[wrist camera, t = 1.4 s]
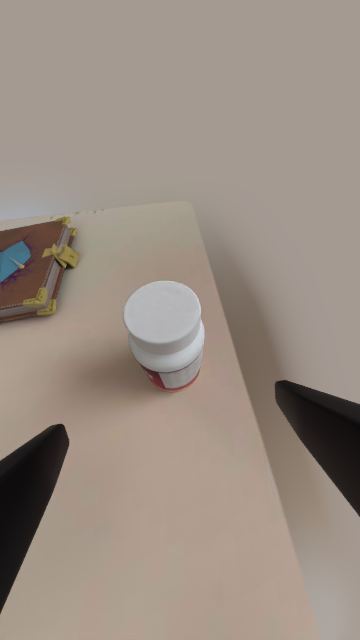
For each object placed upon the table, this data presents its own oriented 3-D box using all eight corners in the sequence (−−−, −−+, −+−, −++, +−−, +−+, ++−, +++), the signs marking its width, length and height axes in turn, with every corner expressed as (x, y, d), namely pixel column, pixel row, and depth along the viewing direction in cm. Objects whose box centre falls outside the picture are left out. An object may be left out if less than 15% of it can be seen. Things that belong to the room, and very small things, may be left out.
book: (-59, 365, 24) (-115, 350, 20) (8, 248, 37) (-16, 224, 33) (65, 342, 24) (35, 322, 20) (88, 233, 37) (73, 207, 33)
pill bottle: (141, 353, 23) (104, 291, 13) (186, 334, 24) (183, 264, 14) (158, 403, 19) (127, 369, 10) (210, 378, 20) (226, 326, 11)
